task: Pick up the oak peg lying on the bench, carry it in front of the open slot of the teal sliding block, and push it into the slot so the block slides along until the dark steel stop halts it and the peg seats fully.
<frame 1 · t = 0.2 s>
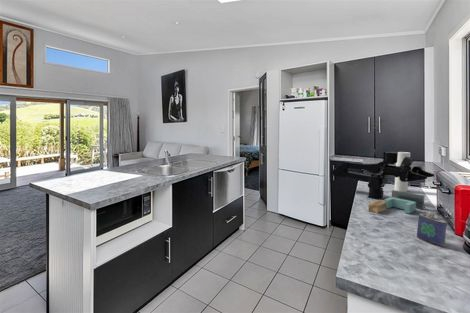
hand: (430, 176, 119), 17 cm above the worktop, tool horizontal, fingers open, 9 cm apart
steel stop: (406, 206, 127), on the worktop
slot block: (399, 204, 121), point 2 cm above the worktop, slide at 0.0 cm
flask: (429, 241, 87), on the worktop
cylindrical container: (400, 190, 158), on the worktop
oak peg: (377, 210, 121), on the worktop
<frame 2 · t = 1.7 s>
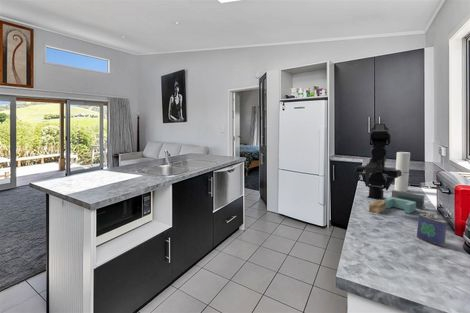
hand: (376, 188, 118), 12 cm above the worktop, tool pointing down, fingers open, 9 cm apart
nothing on the worktop moved.
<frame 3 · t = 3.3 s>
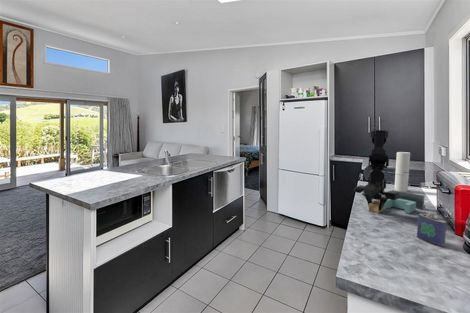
hand: (375, 209, 119), 1 cm above the worktop, tool pointing down, fingers closed on oak peg, 4 cm apart
oak peg: (376, 210, 121), on the worktop, touching gripper
everything else where it was.
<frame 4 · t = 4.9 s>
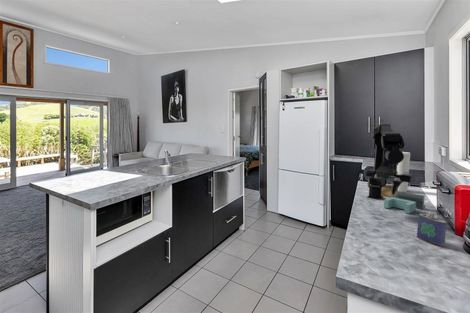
hand: (387, 193, 112), 10 cm above the worktop, tool pointing down, fingers closed on oak peg, 4 cm apart
oak peg: (389, 194, 114), point 9 cm above the worktop, touching gripper
everything else where it was.
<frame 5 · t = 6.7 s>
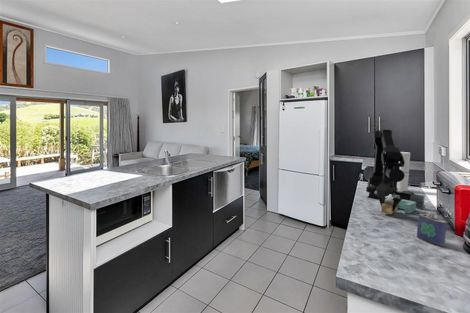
hand: (388, 209, 114), 2 cm above the worktop, tool pointing down, fingers closed on oak peg, 4 cm apart
oak peg: (389, 210, 116), point 1 cm above the worktop, touching gripper
everything else where it was.
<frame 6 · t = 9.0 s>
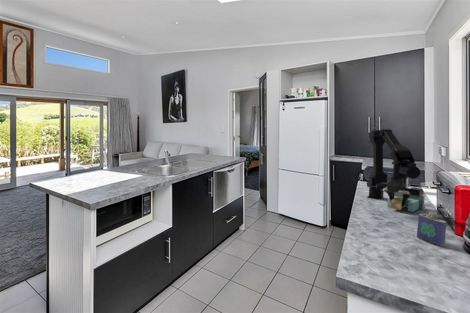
hand: (397, 205, 120), 2 cm above the worktop, tool pointing down, fingers closed on oak peg, 4 cm apart
slot block: (403, 203, 124), point 2 cm above the worktop, slide at 4.0 cm, touching oak peg, steel stop
oak peg: (398, 206, 122), point 1 cm above the worktop, touching gripper, slot block
everything else where it was.
when the fingers open (2 cm above the worktop, at t = 10.1 s): oak peg drops 2 cm, on the worktop.
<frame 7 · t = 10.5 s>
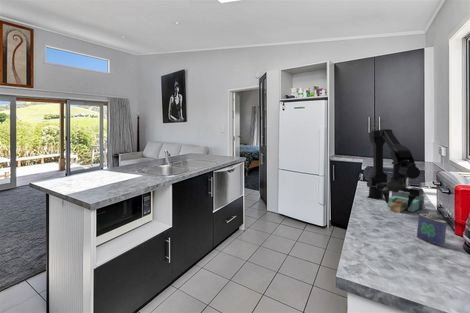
hand: (397, 205, 120), 2 cm above the worktop, tool pointing down, fingers open, 9 cm apart
slot block: (403, 203, 124), point 2 cm above the worktop, slide at 4.0 cm, touching steel stop
oak peg: (398, 209, 122), on the worktop
everything else where it was.
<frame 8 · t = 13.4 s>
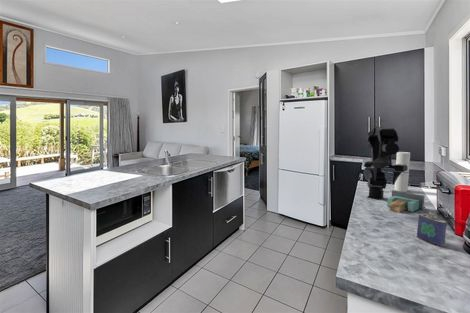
hand: (383, 182, 127), 13 cm above the worktop, tool pointing down, fingers open, 9 cm apart
nothing on the worktop moved.
at the end: slot block slide at 4.0 cm; oak peg 0.4 cm from the target spot on the slot block, point 0.0 cm above the slot block's base; the gripper is holding nothing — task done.
